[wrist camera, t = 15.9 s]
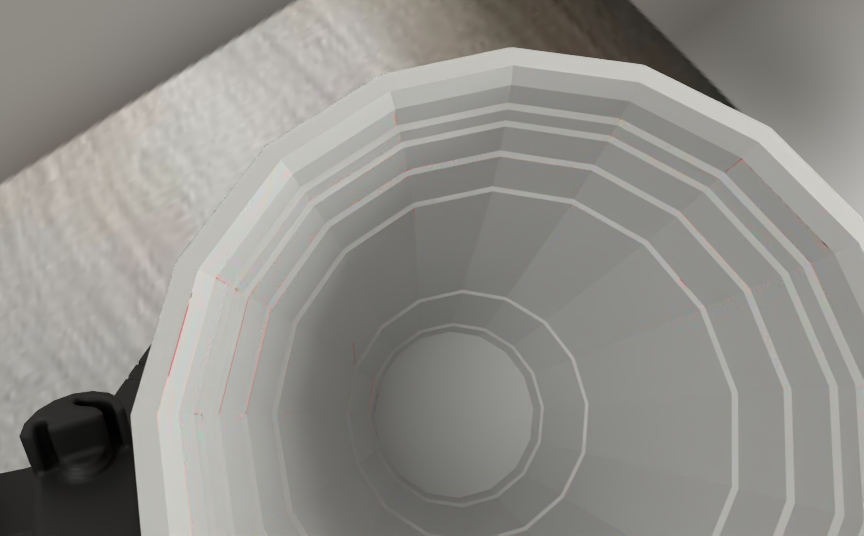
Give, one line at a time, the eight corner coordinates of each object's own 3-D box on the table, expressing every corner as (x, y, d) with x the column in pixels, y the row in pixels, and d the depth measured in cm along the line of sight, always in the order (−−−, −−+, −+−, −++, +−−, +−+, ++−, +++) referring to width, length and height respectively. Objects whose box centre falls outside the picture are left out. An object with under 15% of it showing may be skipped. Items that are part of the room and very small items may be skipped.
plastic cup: (288, 260, 19) (143, 19, 8) (582, 255, 20) (847, 35, 9) (278, 606, 16) (19, 1058, 5) (623, 579, 17) (1105, 898, 6)
